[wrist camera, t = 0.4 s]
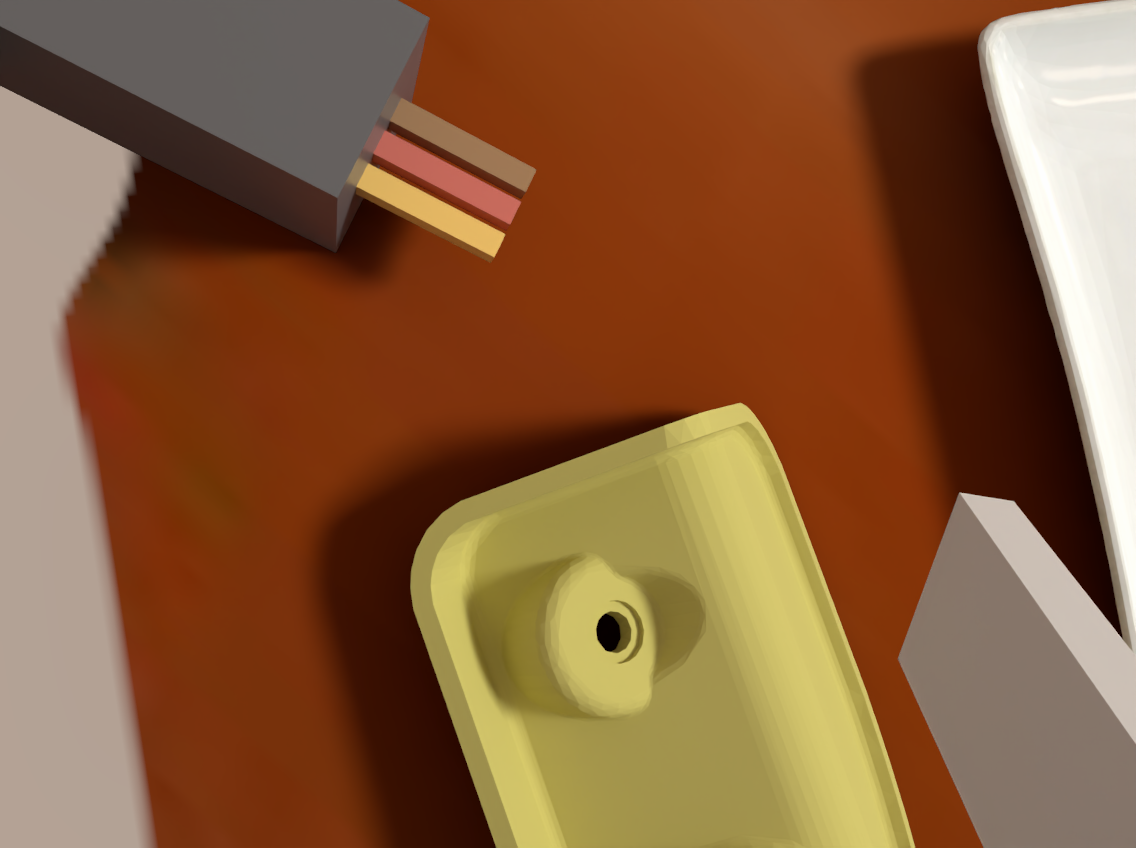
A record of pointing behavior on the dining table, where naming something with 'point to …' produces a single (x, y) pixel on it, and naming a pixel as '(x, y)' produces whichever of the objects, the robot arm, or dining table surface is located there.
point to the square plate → (1081, 227)
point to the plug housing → (267, 106)
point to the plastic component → (653, 654)
